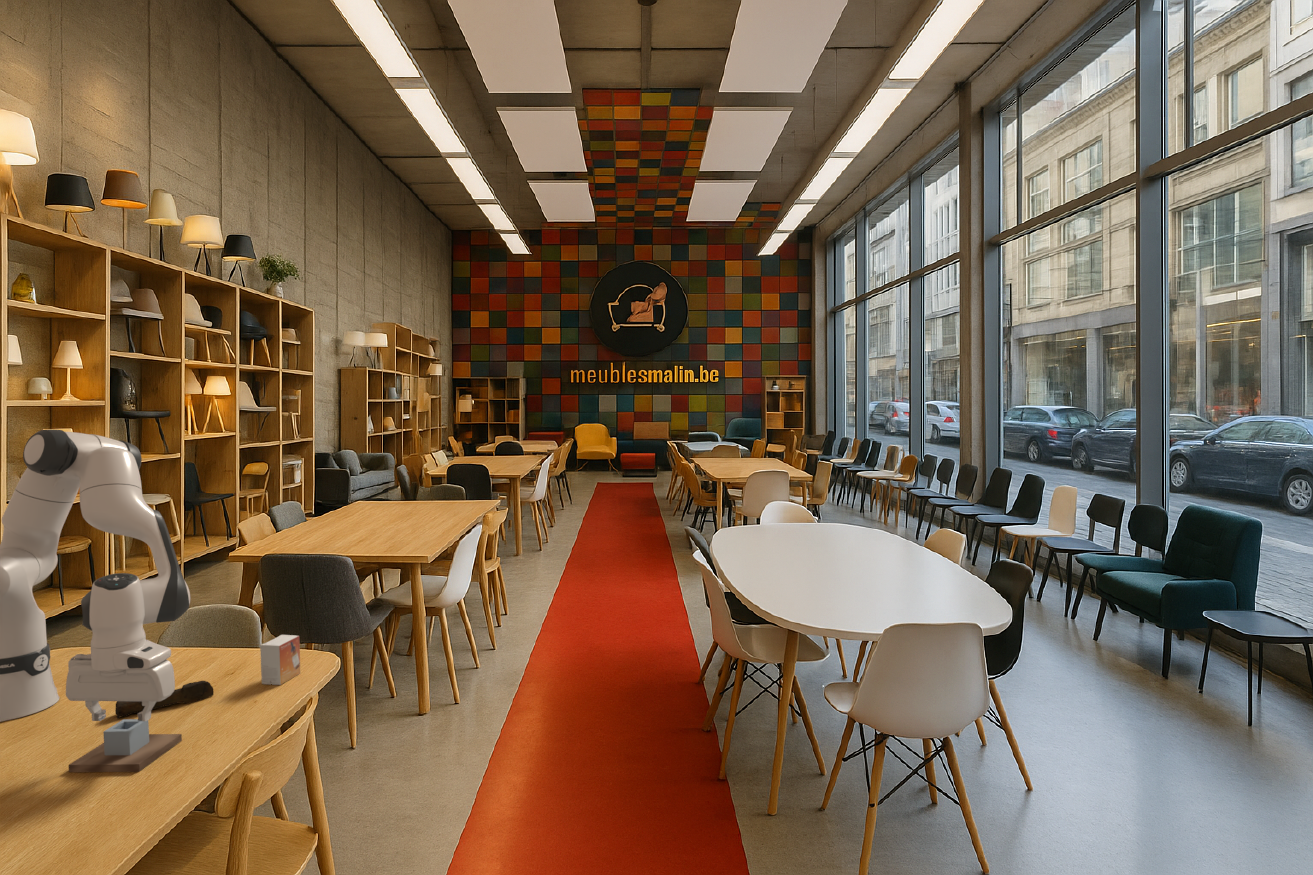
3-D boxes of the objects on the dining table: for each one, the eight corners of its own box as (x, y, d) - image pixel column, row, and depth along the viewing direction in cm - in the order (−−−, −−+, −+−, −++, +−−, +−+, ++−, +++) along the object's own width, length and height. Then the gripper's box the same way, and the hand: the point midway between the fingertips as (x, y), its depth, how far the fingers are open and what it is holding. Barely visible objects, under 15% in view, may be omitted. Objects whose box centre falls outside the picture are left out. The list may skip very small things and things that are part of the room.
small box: (280, 685, 173) (278, 645, 172) (261, 684, 174) (259, 644, 173) (301, 673, 181) (300, 635, 180) (282, 671, 182) (281, 633, 181)
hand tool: (114, 721, 155) (113, 702, 154) (117, 714, 158) (116, 695, 158) (213, 701, 165) (212, 683, 164) (213, 695, 168) (212, 677, 168)
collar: (104, 755, 137) (103, 731, 136) (124, 742, 142) (123, 719, 141) (130, 755, 137) (128, 731, 136) (149, 741, 142) (148, 719, 142)
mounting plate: (68, 772, 133) (67, 746, 133) (117, 741, 145) (115, 717, 145) (139, 771, 133) (138, 745, 133) (181, 740, 145) (180, 716, 145)
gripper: (54, 659, 134) (58, 726, 135) (156, 660, 134) (158, 727, 135) (82, 648, 141) (84, 712, 142) (178, 649, 141) (181, 713, 141)
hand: (121, 719), depth 138 cm, fingers open, 8 cm apart
